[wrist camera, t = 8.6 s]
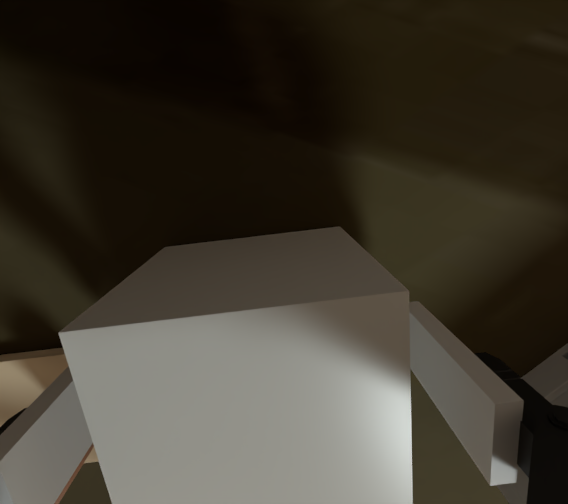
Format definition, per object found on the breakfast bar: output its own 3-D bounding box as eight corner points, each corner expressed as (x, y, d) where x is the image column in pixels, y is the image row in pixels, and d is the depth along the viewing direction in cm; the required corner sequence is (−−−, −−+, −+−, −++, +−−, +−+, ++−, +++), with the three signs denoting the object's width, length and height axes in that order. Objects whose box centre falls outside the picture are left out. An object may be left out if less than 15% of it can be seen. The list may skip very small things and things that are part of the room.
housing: (164, 246, 17) (58, 333, 9) (339, 226, 17) (409, 290, 9) (196, 396, 20) (137, 582, 11) (350, 378, 20) (413, 548, 11)
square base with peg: (-19, 357, 18) (-145, 441, 13) (109, 342, 19) (39, 420, 13) (21, 460, 20) (-75, 573, 15) (137, 446, 20) (87, 554, 15)
